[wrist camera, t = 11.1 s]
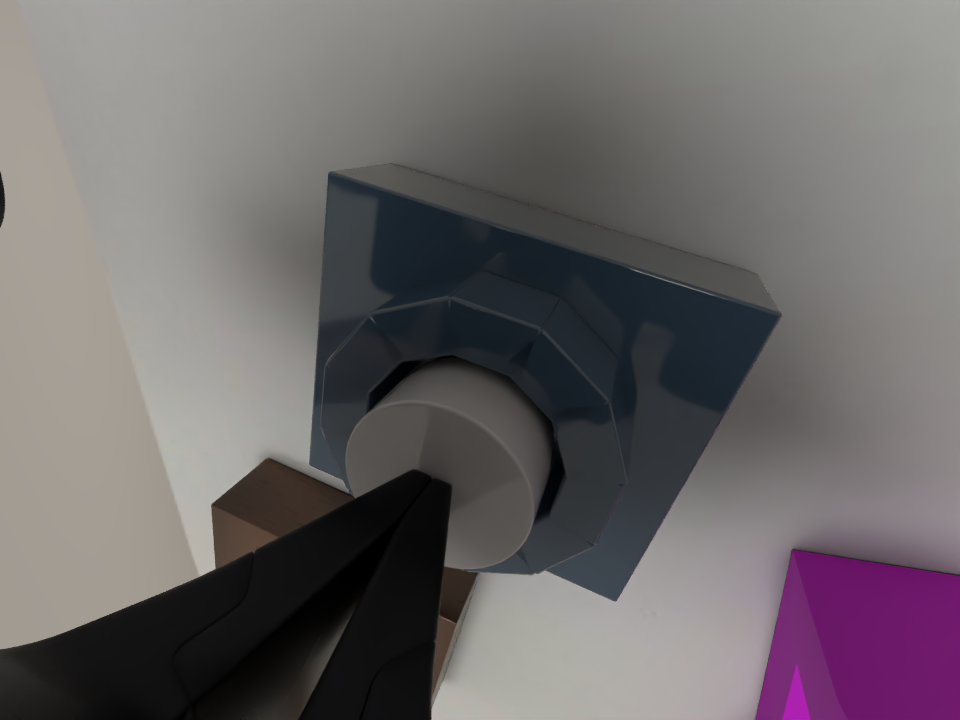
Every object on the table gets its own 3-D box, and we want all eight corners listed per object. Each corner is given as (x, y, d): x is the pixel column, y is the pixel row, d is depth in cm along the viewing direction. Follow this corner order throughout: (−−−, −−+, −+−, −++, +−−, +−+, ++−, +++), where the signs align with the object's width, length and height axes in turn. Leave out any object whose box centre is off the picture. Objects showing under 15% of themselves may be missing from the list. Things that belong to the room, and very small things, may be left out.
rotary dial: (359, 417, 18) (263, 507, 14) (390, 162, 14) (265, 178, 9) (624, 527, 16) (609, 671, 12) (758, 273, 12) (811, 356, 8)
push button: (381, 466, 13) (336, 521, 11) (404, 330, 11) (353, 370, 9) (527, 529, 12) (504, 599, 10) (579, 396, 10) (561, 453, 8)
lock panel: (265, 589, 25) (217, 645, 22) (267, 457, 21) (207, 507, 18) (443, 680, 23) (413, 753, 21) (485, 556, 19) (455, 628, 16)
